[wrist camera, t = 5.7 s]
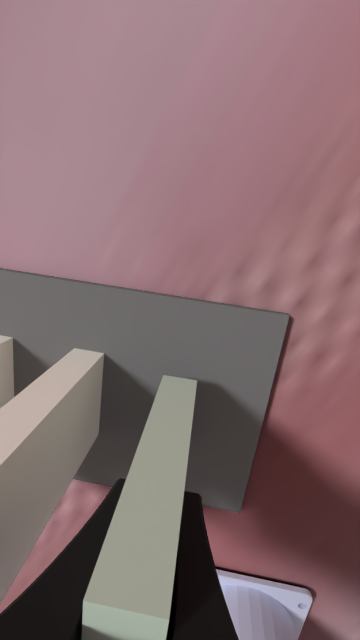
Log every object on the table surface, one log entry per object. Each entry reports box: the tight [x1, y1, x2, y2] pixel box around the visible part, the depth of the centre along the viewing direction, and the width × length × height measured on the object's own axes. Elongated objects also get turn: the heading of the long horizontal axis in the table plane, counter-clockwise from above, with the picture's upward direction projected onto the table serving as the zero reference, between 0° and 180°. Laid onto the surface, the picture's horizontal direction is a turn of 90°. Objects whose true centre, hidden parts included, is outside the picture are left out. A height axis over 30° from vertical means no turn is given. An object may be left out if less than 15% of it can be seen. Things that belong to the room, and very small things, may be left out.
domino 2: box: [82, 375, 197, 640], centre depth 10 cm, size 2×5×9 cm, turn 173°
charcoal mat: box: [0, 268, 289, 513], centre depth 17 cm, size 12×29×1 cm, turn 82°
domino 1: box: [0, 348, 104, 604], centre depth 12 cm, size 2×5×9 cm, turn 172°
